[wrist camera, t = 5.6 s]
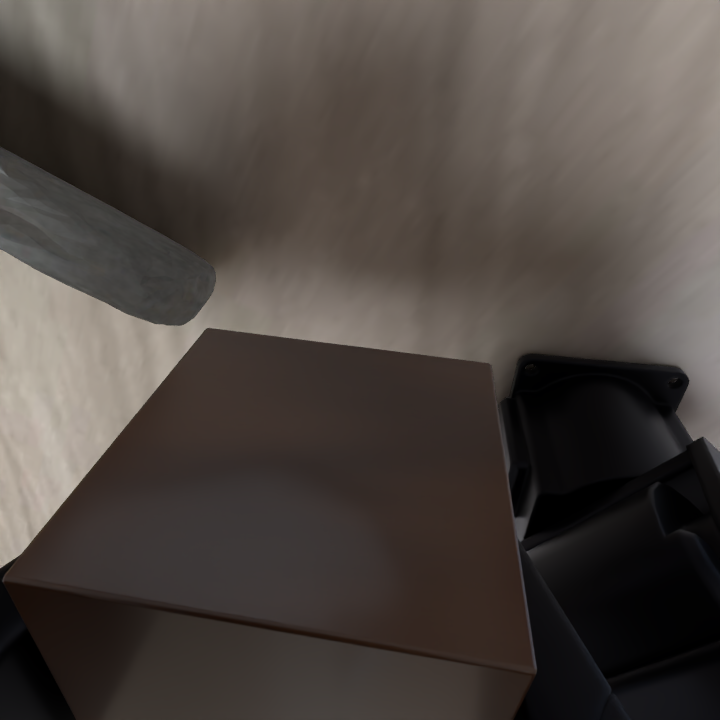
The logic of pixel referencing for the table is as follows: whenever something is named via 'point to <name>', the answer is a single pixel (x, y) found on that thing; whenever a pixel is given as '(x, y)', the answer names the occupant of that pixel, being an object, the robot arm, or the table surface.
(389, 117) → the table surface
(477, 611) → the block
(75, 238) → the stone
